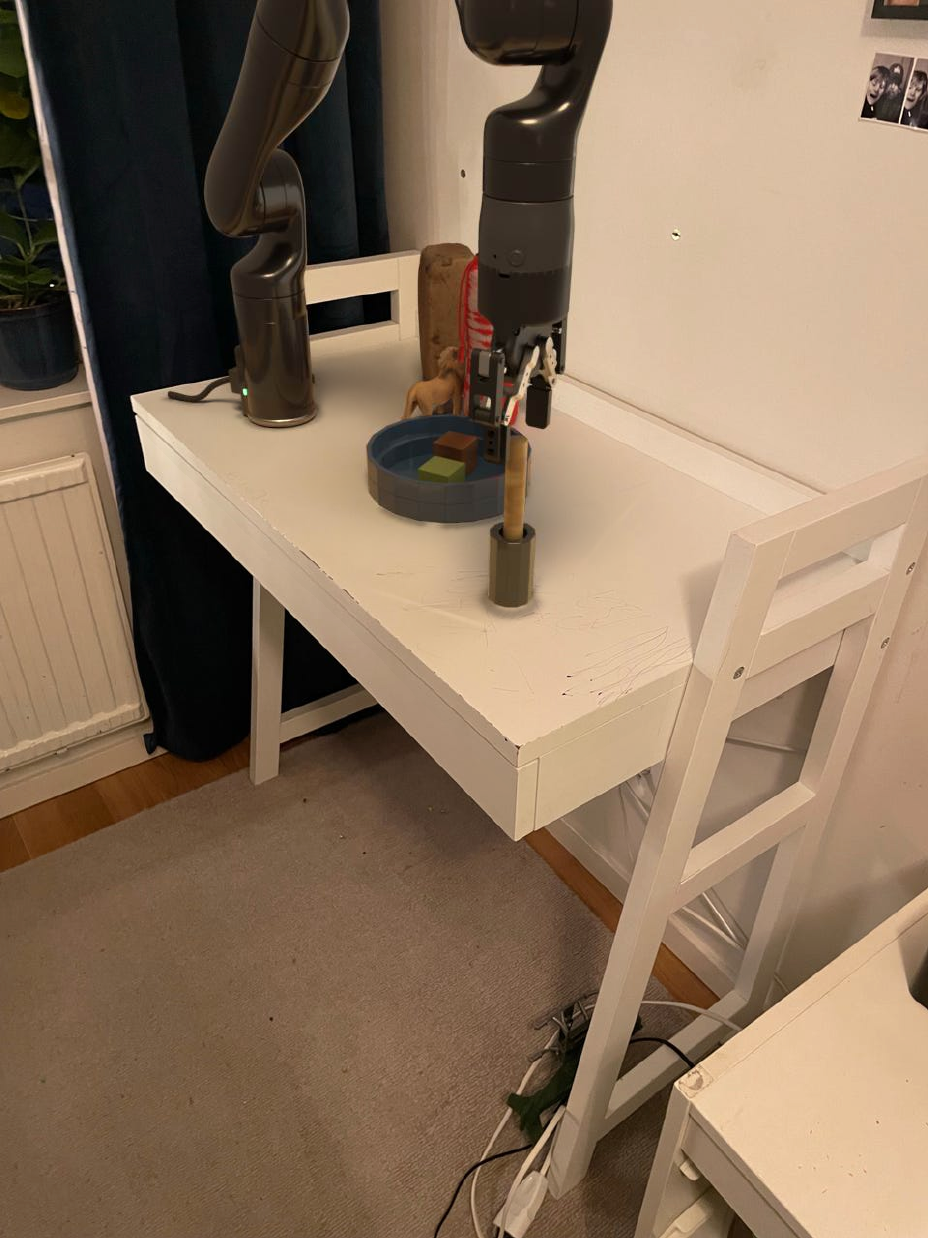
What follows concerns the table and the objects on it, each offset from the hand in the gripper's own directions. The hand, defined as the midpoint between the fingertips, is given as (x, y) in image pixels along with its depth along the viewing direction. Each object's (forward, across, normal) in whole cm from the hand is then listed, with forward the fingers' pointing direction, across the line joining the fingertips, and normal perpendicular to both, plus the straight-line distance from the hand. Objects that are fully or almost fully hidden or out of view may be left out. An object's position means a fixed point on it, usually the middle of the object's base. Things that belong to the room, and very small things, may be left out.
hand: (517, 443), depth 83 cm
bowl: (+17, -18, -17) cm, 30 cm away
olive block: (+16, -14, -16) cm, 27 cm away
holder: (+17, 0, 0) cm, 17 cm away
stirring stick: (+16, 0, 0) cm, 17 cm away
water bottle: (+17, -38, -20) cm, 46 cm away
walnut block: (+16, -22, -18) cm, 32 cm away
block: (+17, -46, -33) cm, 59 cm away
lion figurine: (+17, -33, -28) cm, 47 cm away
